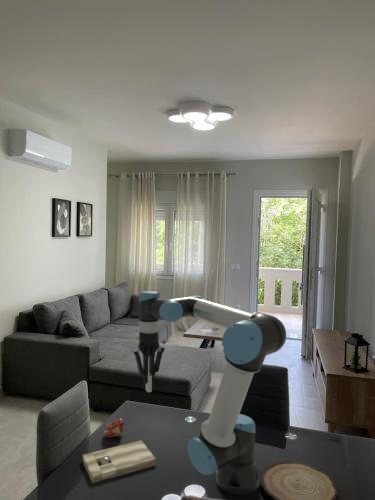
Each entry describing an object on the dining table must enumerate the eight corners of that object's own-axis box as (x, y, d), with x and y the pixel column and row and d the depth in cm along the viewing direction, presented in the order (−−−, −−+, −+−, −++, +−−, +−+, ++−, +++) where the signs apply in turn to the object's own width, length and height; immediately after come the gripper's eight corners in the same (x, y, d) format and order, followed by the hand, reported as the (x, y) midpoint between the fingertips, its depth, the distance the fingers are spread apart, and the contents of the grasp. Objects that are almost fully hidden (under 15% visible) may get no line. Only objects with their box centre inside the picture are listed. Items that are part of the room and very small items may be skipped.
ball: (113, 463, 147) (107, 457, 146) (105, 471, 146) (100, 465, 145) (110, 459, 150) (104, 453, 149) (103, 466, 149) (97, 460, 148)
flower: (131, 429, 172) (122, 413, 174) (126, 435, 163) (116, 418, 165) (113, 441, 172) (104, 425, 174) (107, 448, 163) (97, 431, 165)
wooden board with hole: (155, 465, 149) (155, 458, 149) (92, 483, 138) (92, 476, 138) (141, 446, 162) (141, 440, 162) (82, 461, 151) (82, 454, 151)
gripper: (160, 327, 160) (159, 384, 161) (129, 330, 154) (129, 390, 154) (168, 331, 153) (167, 391, 154) (136, 335, 147) (136, 397, 148)
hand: (148, 390), depth 154 cm, fingers closed
